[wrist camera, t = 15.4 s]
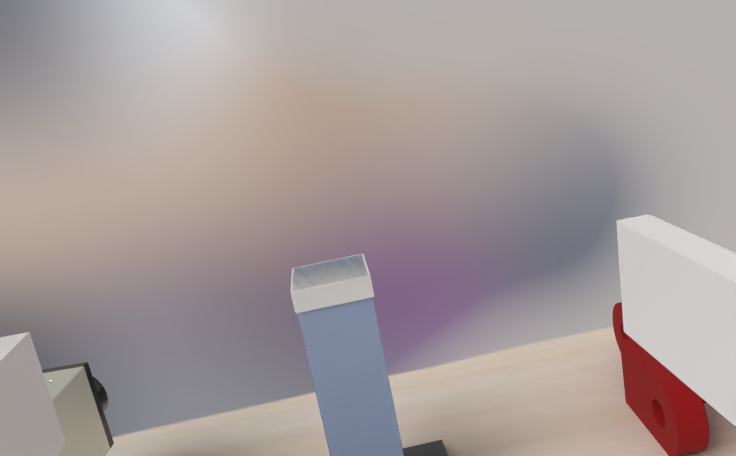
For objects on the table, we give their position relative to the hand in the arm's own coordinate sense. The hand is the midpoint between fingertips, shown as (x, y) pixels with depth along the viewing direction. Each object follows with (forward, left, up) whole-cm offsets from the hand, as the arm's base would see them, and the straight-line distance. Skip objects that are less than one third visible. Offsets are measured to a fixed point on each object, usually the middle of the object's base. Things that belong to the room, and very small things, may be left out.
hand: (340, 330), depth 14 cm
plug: (-1, +21, -20) cm, 29 cm away
